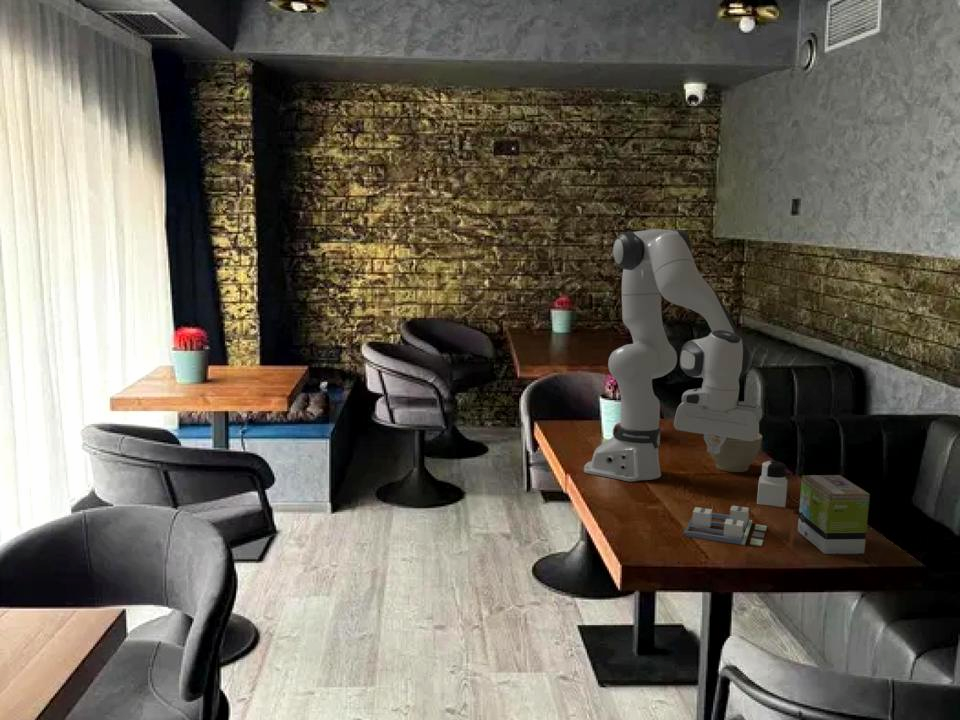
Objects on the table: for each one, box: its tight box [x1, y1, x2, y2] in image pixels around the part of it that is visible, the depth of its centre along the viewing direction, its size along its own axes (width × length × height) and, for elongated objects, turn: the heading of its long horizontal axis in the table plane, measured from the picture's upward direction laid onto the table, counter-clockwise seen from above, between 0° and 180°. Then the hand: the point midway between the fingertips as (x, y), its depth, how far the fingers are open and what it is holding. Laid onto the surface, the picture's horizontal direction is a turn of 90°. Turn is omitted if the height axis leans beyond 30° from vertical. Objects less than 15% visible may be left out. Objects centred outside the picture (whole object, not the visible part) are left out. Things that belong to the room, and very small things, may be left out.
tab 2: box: [722, 519, 744, 540], centre depth 213 cm, size 4×4×4 cm
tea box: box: [797, 474, 871, 555], centre depth 216 cm, size 15×10×15 cm
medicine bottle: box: [756, 460, 788, 508], centre depth 243 cm, size 7×7×12 cm
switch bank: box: [682, 512, 768, 547], centre depth 220 cm, size 23×18×2 cm
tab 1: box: [729, 505, 750, 526], centre depth 223 cm, size 4×4×4 cm
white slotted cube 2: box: [691, 506, 713, 528], centre depth 221 cm, size 4×4×4 cm
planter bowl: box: [709, 433, 763, 473], centre depth 279 cm, size 16×16×11 cm
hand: (713, 452), depth 227 cm, fingers closed
